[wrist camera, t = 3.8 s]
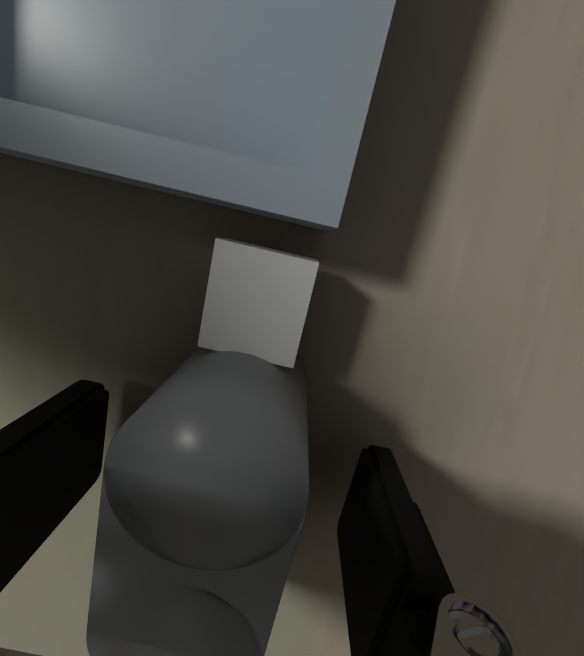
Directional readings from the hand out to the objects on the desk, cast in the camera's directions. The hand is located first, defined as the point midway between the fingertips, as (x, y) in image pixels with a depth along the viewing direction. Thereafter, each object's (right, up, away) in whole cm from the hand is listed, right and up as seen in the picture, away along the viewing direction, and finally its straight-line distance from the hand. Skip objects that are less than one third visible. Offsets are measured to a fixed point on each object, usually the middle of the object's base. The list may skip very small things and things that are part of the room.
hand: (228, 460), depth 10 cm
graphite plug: (0, +1, +1) cm, 1 cm away
